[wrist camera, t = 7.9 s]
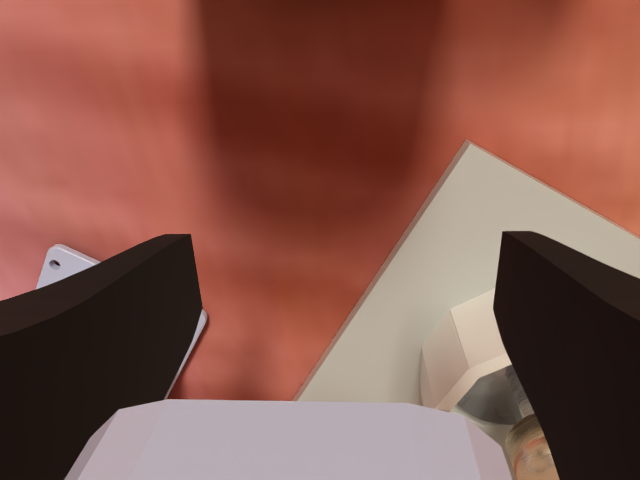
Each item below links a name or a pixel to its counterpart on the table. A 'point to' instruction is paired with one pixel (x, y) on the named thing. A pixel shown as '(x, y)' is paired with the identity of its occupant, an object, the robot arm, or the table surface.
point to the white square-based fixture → (453, 290)
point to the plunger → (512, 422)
